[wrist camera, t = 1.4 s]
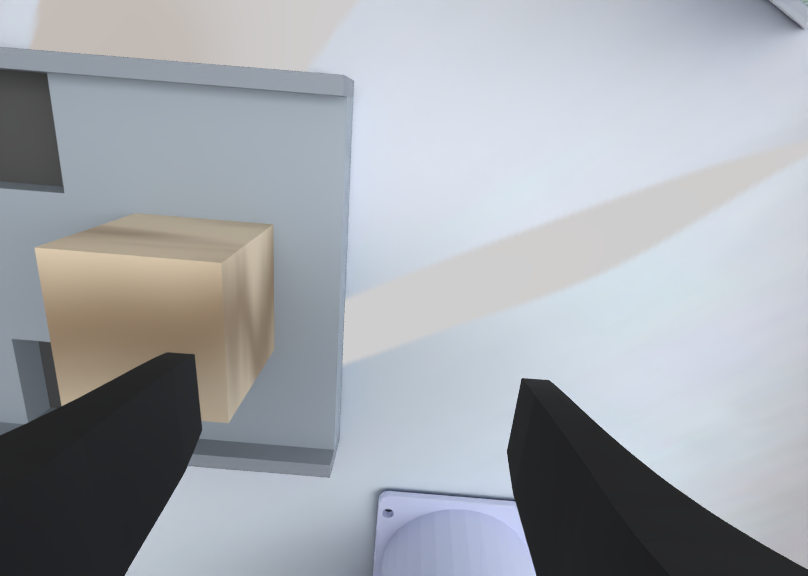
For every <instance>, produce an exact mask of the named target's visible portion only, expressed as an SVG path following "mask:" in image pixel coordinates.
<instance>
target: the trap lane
mask: <svg viewBox="0 0 808 576" xmlns="http://www.w3.org/2000/svg"><path fill="white" fill-rule="evenodd" d="M353 85H354V80H352V79H350V78H348V77H346V76H344V75H337V74H325V73H312V72H300V71H288V70H276V69H263V68H251V67H239V66H227V65H214V64H202V63H190V62H178V61H165V60H153V59H140V58H129V57H116V56H104V55H92V54H80V53H67V52H54V51H43V50H31V49H18V48H6V47H0V435H2V434H4V433H6V432H9V431H11V430H13V429H15V428H17V427H20V426H22V425H24V424H26V423H28V422H30V421H32V420H34V419H36V418H38V417H41V416H43V415H45V414H47V413H49V412H51V411H53V410H55V409H57V408H59V407H61V400H60V394H59V388H58V382H57V376H56V371H55V365H54V359H53V353H52V347H51V341H50V336H49V330H48V324H47V318H46V312H45V306H44V301H43V295H42V289H41V283H40V277H39V272H38V266H37V260H36V254H35V247H37V246H40V245H43V244H46V243H49V242H52V241H55V240H58V239H61V238H64V237H67V236H70V235H73V234H76V233H79V232H81V231H84V230H87V229H90V228H93V227H96V226H99V225H102V224H105V223H108V222H111V221H114V220H117V219H120V218H123V217H125V216H128V215H131V214H134V213H141V214H153V215H165V216H177V217H189V218H202V219H214V220H226V221H238V222H250V223H262V224H273V239H274V348H275V349H274V351H273V352H272V354H271V356H270V357H269V359H268V361H267V362H266V364H265V365H264V367H263V369H262V370H261V372H260V373H259V375H258V377H257V378H256V380H255V381H254V383H253V385H252V386H251V388H250V390H249V391H248V393H247V394H246V396H245V398H244V399H243V401H242V402H241V404H240V406H239V407H238V409H237V410H236V412H235V414H234V415H233V417H232V419H231V420H230V422H229V423H220V422H208V421H202V432H201V435H200V437H199V440H198V442H197V445H196V447H195V450H194V452H193V455H192V457H191V459H190V461H189V464H188V466H196V467H208V468H220V469H232V470H244V471H256V472H268V473H280V474H292V475H304V476H316V477H328V478H330V475H331V471H332V467H333V463H334V459H335V454H336V450H337V446H338V442H339V430H340V405H341V380H342V354H343V331H344V329H343V328H344V306H345V282H346V257H347V233H348V208H349V184H350V159H351V134H352V110H353Z"/></svg>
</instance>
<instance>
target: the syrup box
mask: <svg viewBox="0 0 808 576" xmlns="http://www.w3.org/2000/svg"><path fill="white" fill-rule="evenodd" d="M769 1H770V2H772V3H773V4H774V5H775V6H777V7H778V8H779V9H780V10H781V11H783V12H784V13H785V14H786V15H787V16H789V17H790V18H791V19H793V20H794V21H795V22H796V23H798V24H799V25H800V26H801V27H802V28H804V29H808V0H769Z"/></svg>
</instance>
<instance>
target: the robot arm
mask: <svg viewBox="0 0 808 576" xmlns="http://www.w3.org/2000/svg"><path fill="white" fill-rule="evenodd" d="M201 432H202V421H201V411H200V402H199V392H198V382H197V372H196V362H195V354H185V353H171V352H166V353H164V354H162V355H159V356H157V357H155V358H153V359H151V360H149V361H147V362H145V363H143V364H141V365H139V366H137V367H135V368H134V369H132V370H130V371H128V372H126V373H124V374H122V375H121V376H119V377H117V378H115V379H113V380H111V381H109V382H107V383H106V384H104V385H102V386H100V387H98V388H96V389H94V390H92V391H91V392H89V393H87V394H85V395H83V396H81V397H79V398H77V399H75V400H73V401H71V402H69V403H67V404H65V405H63V406H61V407H59V408H57V409H55V410H53V411H51V412H49V413H47V414H45V415H43V416H41V417H38V418H36V419H34V420H32V421H30V422H28V423H26V424H24V425H22V426H20V427H17V428H15V429H13V430H11V431H9V432H6V433H4V434H2V435H0V576H125V574H126V572H127V570H128V568H129V566H130V565H131V563H132V561H133V560H134V558H135V556H136V555H137V553H138V551H139V550H140V548H141V546H142V544H143V543H144V541H145V539H146V538H147V536H148V534H149V533H150V531H151V529H152V528H153V526H154V524H155V522H156V521H157V519H158V517H159V516H160V514H161V512H162V511H163V509H164V507H165V506H166V504H167V502H168V500H169V499H170V497H171V495H172V493H173V492H174V490H175V488H176V487H177V485H178V483H179V481H180V480H181V478H182V476H183V474H184V472H185V471H186V468H187V466H188V464H189V461H190V459H191V457H192V455H193V452H194V450H195V447H196V445H197V442H198V440H199V437H200V435H201ZM507 455H508V462H509V470H510V476H511V483H512V489H513V495H514V498H515V501H505V500H493V499H481V498H469V497H457V496H444V495H432V494H420V493H408V492H396V491H385V492H383V493H382V494H381V495H380V496H379V499H378V511H377V524H376V537H375V551H374V564H373V576H808V569H806V568H804V567H802V566H800V565H798V564H796V563H795V562H793V561H791V560H789V559H788V558H786V557H784V556H782V555H780V554H779V553H777V552H775V551H773V550H771V549H770V548H768V547H766V546H765V545H763V544H761V543H760V542H758V541H756V540H755V539H753V538H751V537H750V536H748V535H746V534H745V533H743V532H741V531H740V530H738V529H737V528H735V527H733V526H732V525H730V524H728V523H727V522H725V521H724V520H722V519H720V518H719V517H717V516H716V515H714V514H713V513H711V512H710V511H708V510H707V509H705V508H704V507H702V506H701V505H699V504H698V503H696V502H695V501H694V500H692V499H691V498H689V497H688V496H686V495H685V494H684V493H682V492H681V491H679V490H678V489H676V488H675V487H674V486H672V485H671V484H669V483H668V482H667V481H665V480H664V479H663V478H661V477H660V476H659V475H657V474H656V473H655V472H654V471H652V470H651V469H650V468H649V467H647V466H646V465H645V464H644V463H642V462H641V461H640V460H639V459H637V458H636V457H635V456H634V455H632V454H631V453H630V452H629V451H628V450H626V449H625V448H624V447H623V446H622V445H620V444H619V443H618V442H617V441H616V440H615V439H614V438H612V437H611V436H610V435H609V434H608V433H607V432H606V431H604V430H603V429H602V428H601V427H600V426H599V425H598V424H597V423H596V422H595V421H593V420H592V419H591V418H590V417H589V416H588V415H587V414H586V413H585V412H584V411H583V410H582V409H580V408H579V407H578V406H577V405H576V404H575V403H574V402H573V401H572V400H571V399H570V398H569V397H568V396H566V395H565V394H564V393H563V392H562V391H561V390H560V389H559V388H558V387H557V386H555V385H554V384H553V383H552V382H551V381H549V380H539V379H525V378H522V379H521V384H520V389H519V394H518V399H517V404H516V409H515V414H514V419H513V424H512V429H511V434H510V439H509V444H508V449H507ZM385 509H390V510H392V511H390V512H387V511H385Z"/></svg>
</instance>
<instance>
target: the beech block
mask: <svg viewBox="0 0 808 576" xmlns="http://www.w3.org/2000/svg"><path fill="white" fill-rule="evenodd" d="M35 254H36V260H37V266H38V272H39V277H40V283H41V289H42V295H43V301H44V306H45V312H46V318H47V324H48V330H49V336H50V341H51V347H52V353H53V359H54V365H55V371H56V376H57V382H58V388H59V394H60V400H61V406H63V405H65V404H67V403H69V402H71V401H73V400H75V399H77V398H79V397H81V396H83V395H85V394H87V393H89V392H91V391H92V390H94V389H96V388H98V387H100V386H102V385H104V384H106V383H107V382H109V381H111V380H113V379H115V378H117V377H119V376H121V375H122V374H124V373H126V372H128V371H130V370H132V369H134V368H135V367H137V366H139V365H141V364H143V363H145V362H147V361H149V360H151V359H153V358H155V357H157V356H159V355H162V354H164V353H166V352H171V353H185V354H195V362H196V372H197V382H198V392H199V402H200V411H201V421H208V422H220V423H229V422H230V420H231V419H232V417H233V415H234V414H235V412H236V410H237V409H238V407H239V406H240V404H241V402H242V401H243V399H244V398H245V396H246V394H247V393H248V391H249V390H250V388H251V386H252V385H253V383H254V381H255V380H256V378H257V377H258V375H259V373H260V372H261V370H262V369H263V367H264V365H265V364H266V362H267V361H268V359H269V357H270V356H271V354H272V352H273V351H274V349H275V348H274V239H273V224H262V223H250V222H238V221H226V220H214V219H202V218H189V217H177V216H165V215H153V214H141V213H134V214H131V215H128V216H125V217H123V218H120V219H117V220H114V221H111V222H108V223H105V224H102V225H99V226H96V227H93V228H90V229H87V230H84V231H81V232H79V233H76V234H73V235H70V236H67V237H64V238H61V239H58V240H55V241H52V242H49V243H46V244H43V245H40V246H37V247H35Z"/></svg>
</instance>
